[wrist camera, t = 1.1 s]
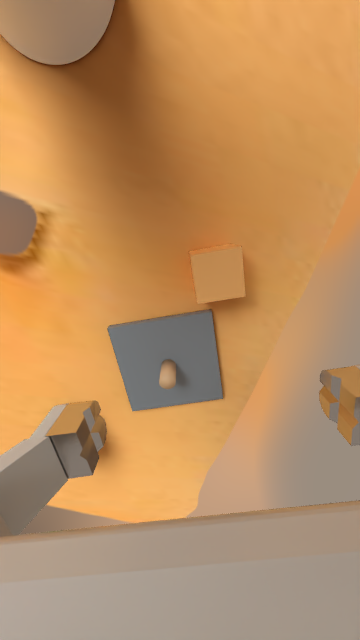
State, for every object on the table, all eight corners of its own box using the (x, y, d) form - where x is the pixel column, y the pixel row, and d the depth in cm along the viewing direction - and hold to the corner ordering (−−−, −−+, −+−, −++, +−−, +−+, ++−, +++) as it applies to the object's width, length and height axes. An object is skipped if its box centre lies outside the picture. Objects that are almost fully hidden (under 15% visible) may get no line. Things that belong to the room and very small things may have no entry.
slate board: (109, 325, 37) (97, 341, 32) (210, 309, 36) (216, 322, 31) (133, 406, 43) (127, 431, 38) (222, 394, 42) (228, 417, 37)
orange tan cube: (188, 251, 33) (190, 255, 28) (231, 243, 33) (241, 246, 27) (194, 292, 36) (197, 304, 30) (235, 285, 35) (245, 296, 30)
